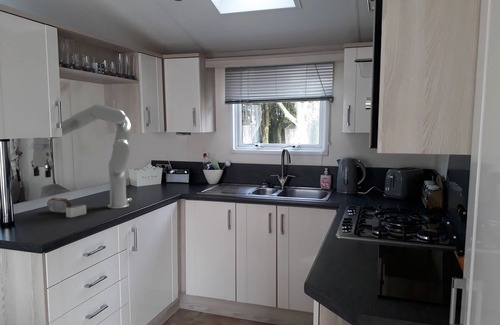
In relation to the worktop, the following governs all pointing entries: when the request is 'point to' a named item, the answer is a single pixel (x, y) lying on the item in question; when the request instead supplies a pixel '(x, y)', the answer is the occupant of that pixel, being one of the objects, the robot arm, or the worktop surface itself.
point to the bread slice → (58, 205)
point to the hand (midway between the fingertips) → (42, 176)
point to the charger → (75, 210)
